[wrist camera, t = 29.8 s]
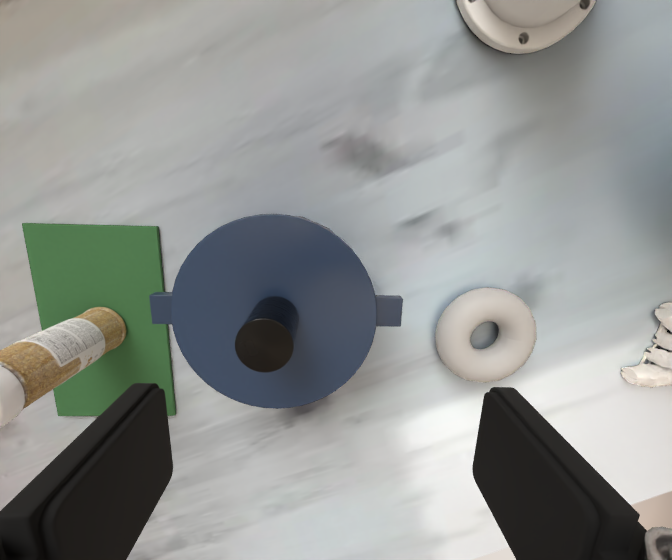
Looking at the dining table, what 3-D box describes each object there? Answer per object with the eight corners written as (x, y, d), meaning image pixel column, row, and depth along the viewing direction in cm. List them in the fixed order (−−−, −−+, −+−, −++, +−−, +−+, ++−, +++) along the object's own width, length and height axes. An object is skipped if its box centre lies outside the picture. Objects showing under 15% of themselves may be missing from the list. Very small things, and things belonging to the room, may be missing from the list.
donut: (419, 301, 33) (443, 384, 36) (430, 311, 30) (456, 402, 32) (512, 270, 33) (531, 356, 35) (534, 277, 30) (553, 371, 32)
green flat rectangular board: (25, 223, 30) (21, 223, 30) (158, 226, 30) (156, 226, 30) (60, 413, 34) (58, 416, 34) (176, 413, 35) (174, 415, 35)
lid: (168, 211, 24) (116, 213, 18) (379, 216, 24) (398, 219, 18) (185, 400, 27) (146, 456, 21) (369, 399, 28) (383, 453, 22)
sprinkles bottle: (103, 356, 33) (-43, 457, 20) (70, 321, 32) (-105, 402, 19) (138, 332, 32) (14, 419, 19) (106, 295, 31) (-47, 361, 18)
